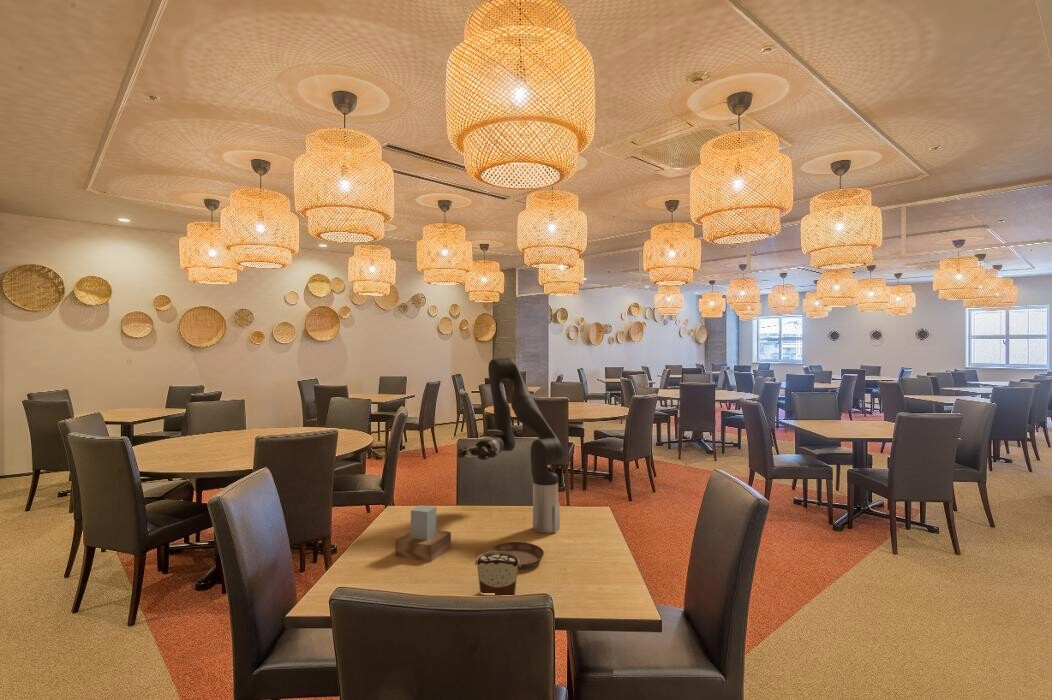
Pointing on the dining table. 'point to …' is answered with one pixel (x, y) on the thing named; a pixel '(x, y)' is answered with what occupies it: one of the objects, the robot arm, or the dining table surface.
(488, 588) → the cake slice
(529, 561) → the plant saucer
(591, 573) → the dining table surface
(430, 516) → the slate block
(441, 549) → the walnut block
